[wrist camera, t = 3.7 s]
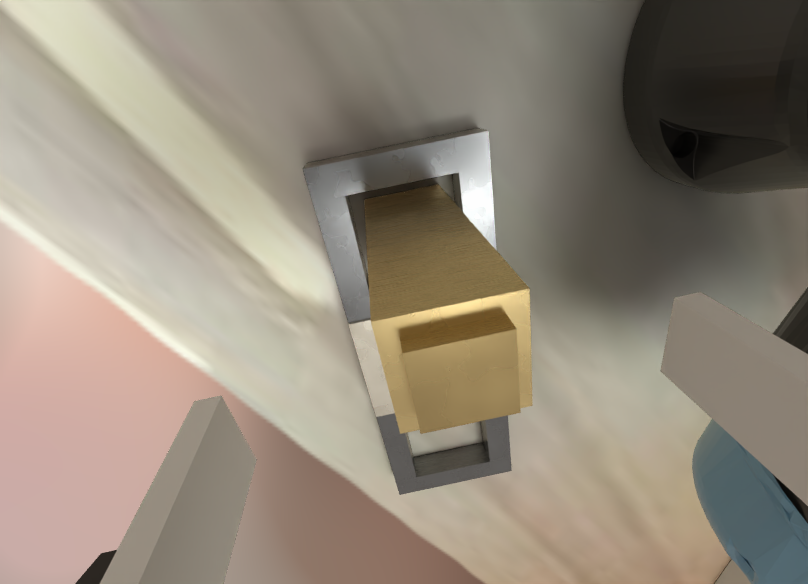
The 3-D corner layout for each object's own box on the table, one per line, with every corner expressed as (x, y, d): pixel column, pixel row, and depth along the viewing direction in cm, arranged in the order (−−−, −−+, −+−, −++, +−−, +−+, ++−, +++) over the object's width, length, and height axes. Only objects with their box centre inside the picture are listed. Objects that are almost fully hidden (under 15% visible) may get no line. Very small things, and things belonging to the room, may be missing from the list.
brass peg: (364, 199, 23) (371, 338, 10) (438, 184, 23) (541, 302, 10) (379, 267, 25) (402, 453, 12) (447, 253, 25) (542, 423, 12)
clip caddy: (741, 545, 48) (780, 590, 44) (867, 529, 50) (916, 572, 45) (712, 586, 53) (744, 631, 48) (828, 571, 54) (869, 613, 50)
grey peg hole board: (307, 162, 22) (302, 169, 20) (478, 127, 22) (489, 131, 20) (397, 474, 35) (399, 496, 33) (503, 451, 35) (512, 472, 33)
